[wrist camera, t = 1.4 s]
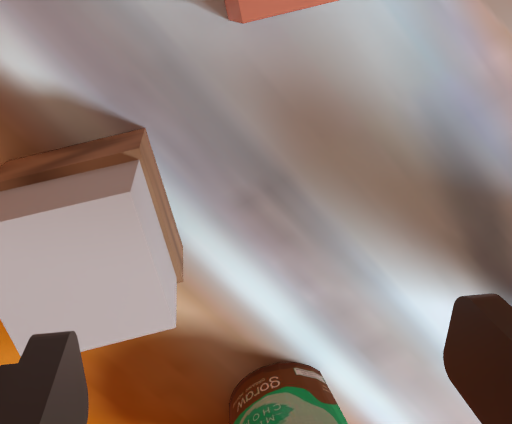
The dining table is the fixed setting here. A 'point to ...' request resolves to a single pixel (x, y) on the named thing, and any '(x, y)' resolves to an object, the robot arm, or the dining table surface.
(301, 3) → the red block
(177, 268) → the bottom slab
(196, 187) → the dining table surface
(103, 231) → the top slab
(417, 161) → the dining table surface
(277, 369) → the food container
